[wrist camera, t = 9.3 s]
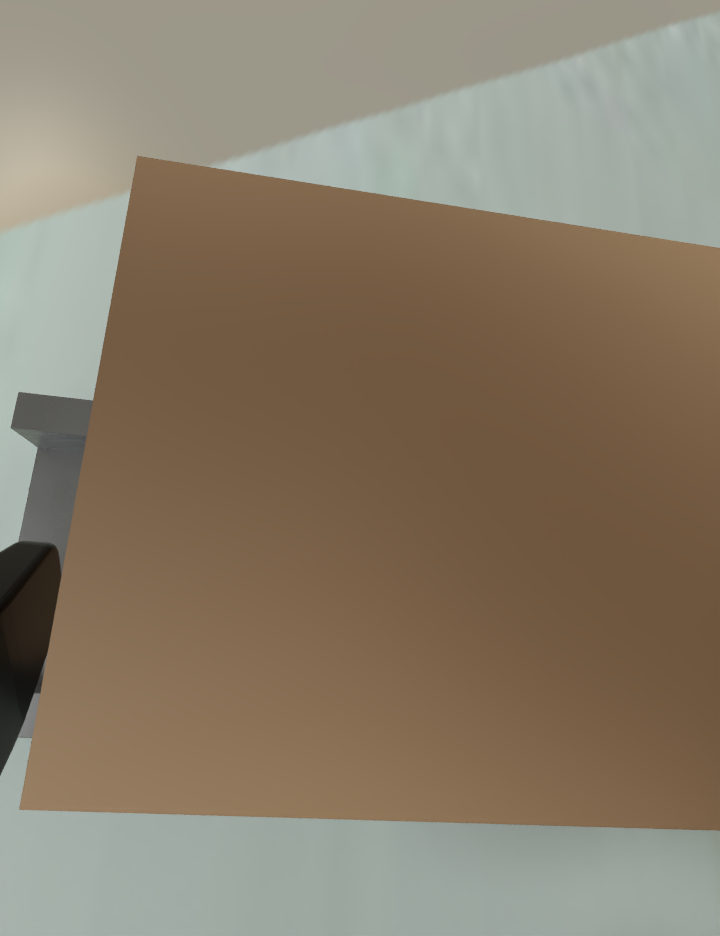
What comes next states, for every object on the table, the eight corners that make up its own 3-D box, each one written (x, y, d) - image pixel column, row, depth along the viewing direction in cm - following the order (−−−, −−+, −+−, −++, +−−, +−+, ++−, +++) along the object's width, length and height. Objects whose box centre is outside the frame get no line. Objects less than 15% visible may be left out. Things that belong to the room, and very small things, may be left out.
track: (429, 464, 21) (454, 442, 18) (416, 737, 19) (441, 758, 16) (53, 423, 19) (18, 392, 16) (-6, 714, 17) (-57, 733, 14)
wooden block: (426, 660, 18) (1007, 840, 4) (222, 647, 18) (19, 810, 3) (431, 527, 19) (917, 278, 5) (237, 510, 19) (137, 156, 4)
